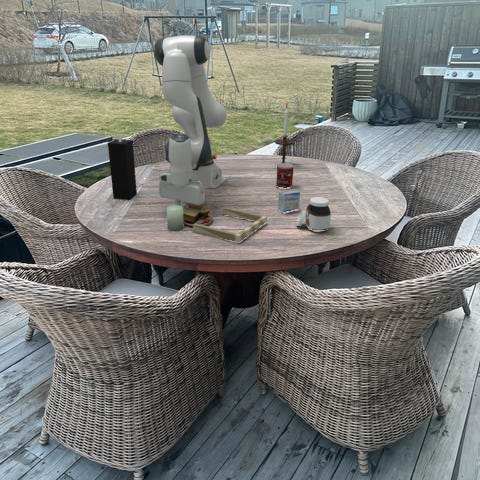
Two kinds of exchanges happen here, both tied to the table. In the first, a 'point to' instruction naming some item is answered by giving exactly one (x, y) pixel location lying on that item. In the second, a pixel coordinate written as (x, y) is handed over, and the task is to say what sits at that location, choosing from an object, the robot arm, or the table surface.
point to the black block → (122, 168)
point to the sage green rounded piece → (175, 217)
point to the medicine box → (288, 200)
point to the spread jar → (316, 214)
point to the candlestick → (285, 137)
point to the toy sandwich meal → (196, 217)
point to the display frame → (229, 235)
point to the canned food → (284, 175)
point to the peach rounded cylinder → (196, 206)
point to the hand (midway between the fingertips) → (182, 211)
